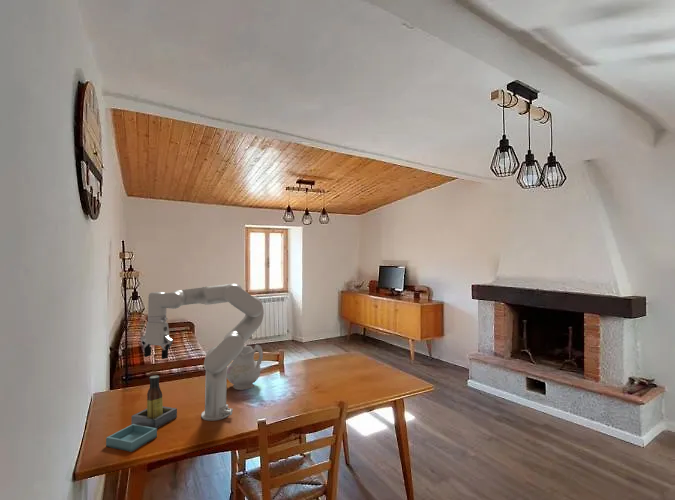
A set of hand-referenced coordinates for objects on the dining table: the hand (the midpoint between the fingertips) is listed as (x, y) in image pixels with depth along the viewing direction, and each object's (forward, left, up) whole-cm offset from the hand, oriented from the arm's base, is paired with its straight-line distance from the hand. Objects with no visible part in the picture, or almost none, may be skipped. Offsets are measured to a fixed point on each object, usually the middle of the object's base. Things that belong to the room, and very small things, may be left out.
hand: (156, 357), depth 170 cm
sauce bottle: (0, 0, -29) cm, 29 cm away
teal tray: (-6, +18, -28) cm, 34 cm away
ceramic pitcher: (-14, -53, -29) cm, 62 cm away
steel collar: (0, 0, -28) cm, 28 cm away
